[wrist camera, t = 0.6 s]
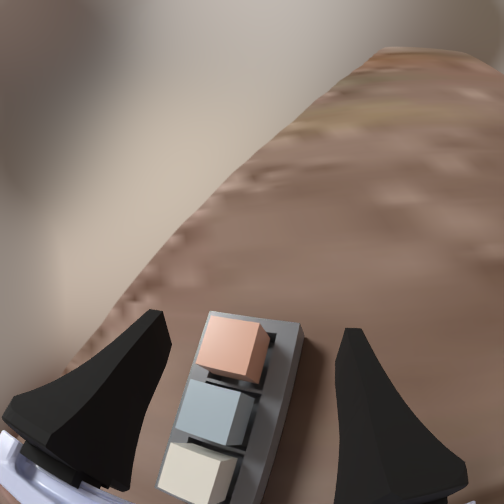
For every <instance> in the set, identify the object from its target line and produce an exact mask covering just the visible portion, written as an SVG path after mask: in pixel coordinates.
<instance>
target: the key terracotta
mask: <svg viewBox="0 0 504 504" xmlns="http://www.w3.org/2000/svg"><path fill="white" fill-rule="evenodd" d="M269 342H270V337H269V336H268V334H267V333H266V331H265V330H264V328H263V327H262V326H261V324H260V323H257V322H250V321H243V320H236V319H230V318H224V317H218V316H212V315H211V317H210V320H209V323H208V326H207V329H206V332H205V335H204V338H203V341H202V344H201V347H200V350H199V354H198V357H197V360H196V363H195V364H197V365H199V366H201V367H202V368H204V369H206V370H208V371H210V372H211V373H213V374H216V375H220V376H225V377H229V378H233V379H237V380H242V381H246V382H251V383H256V384H259V381H260V377H261V373H262V369H263V366H264V362H265V358H266V354H267V350H268V346H269Z"/></svg>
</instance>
